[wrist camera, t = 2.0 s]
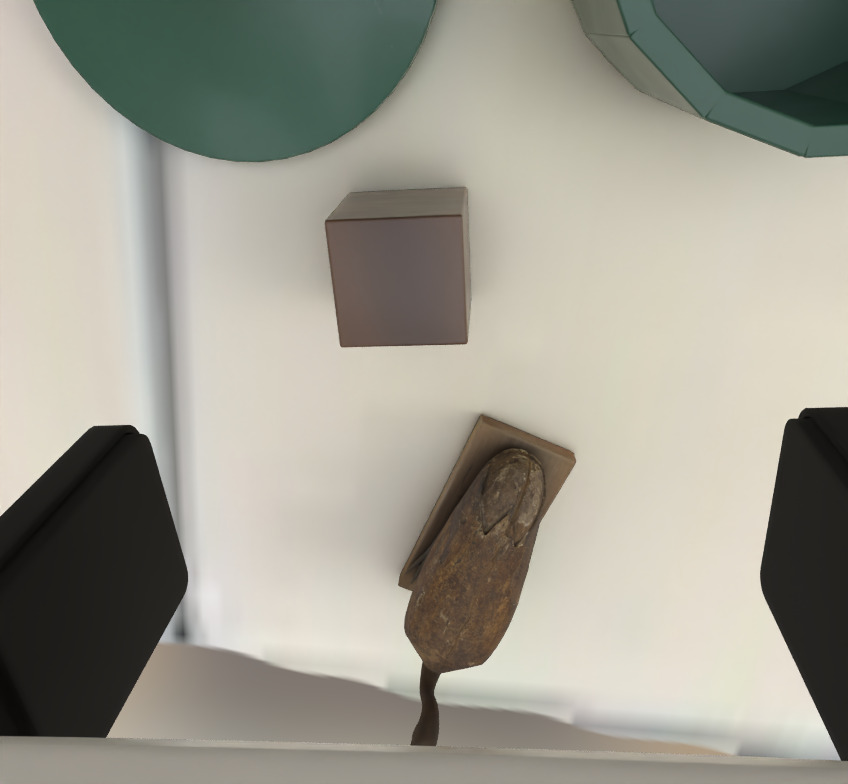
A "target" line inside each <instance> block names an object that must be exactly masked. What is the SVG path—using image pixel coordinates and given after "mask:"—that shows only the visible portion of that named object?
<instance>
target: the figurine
mask: <svg viewBox="0 0 848 784" xmlns="http://www.w3.org/2000/svg"><path fill="white" fill-rule="evenodd" d="M575 463H576V459H575V456H574V453H573V452H571V451H569V450H566V449H564V448H562V447H559V446H557V445H554V444H552V443H550V442H547V441H545V440H542V439H540V438H537V437H535V436H533V435H530V434H528V433H525V432H523V431H521V430H518V429H516V428H514V427H511V426H508V425H506V424H504V423H501V422H499V421H496V420H494V419H491V418H489V417H486V416H484V415H481V416H480V418H479V420H478V422H477V424H476V426H475V428H474V430H473V432H472V434H471V436H470V438H469V440H468V442H467V444H466V446H465V448H464V450H463V452H462V454H461V456H460V458H459V460H458V462H457V463H456V465H455V467H454V469H453V472H452V474H451V476H450V477H449V479H448V481H447V483H446V485H445V487H444V489H443V491H442V493H441V495H440V497H439V499H438V501H437V503H436V505H435V507H434V509H433V511H432V513H431V515H430V517H429V519H428V521H427V523H426V525H425V527H424V529H423V531H422V533H421V535H420V537H419V539H418V541H417V543H416V545H415V547H414V549H413V551H412V553H411V555H410V557H409V559H408V561H407V563H406V564H405V566H404V568H403V570H402V572H401V574H400V578H399V583H398V585H399V586H400V587H403V588H405V589H408V590H411V591H413V592H412V595H411V598H410V601H409V604H408V608H407V611H406V615H405V622H404V629H405V633H406V635H407V637H408V639H409V640H410V642H411V643H412V645H413V647H414V648H415V650H416V651H417V653H418V654H419V656H420V657H421V659H422V661H423V663H422V669H421V678H420V696H421V701H422V713H421V716H420V719H419V722H418V724H417V725H416V727H415V730H414V732H413V735H412V741H411V746H436V744H437V739H438V733H439V711H438V705H437V702H436V699H435V696H434V689H435V686H436V683H437V681H438V678H439V676H440V674H441V673H445V672H450V671H455V670H460V669H465V668H469V667H474V666H478V665H482V664H483V663H484V662H485V661H486V660H487V659H488V658H489V657H490V656H491V654H492V653H493V651H494V650H495V649H496V647H497V646H498V644H499V643H500V641H501V639H502V638H503V636H504V634H505V632H506V630H507V628H508V626H509V624H510V622H511V620H512V617H513V615H514V613H515V610H516V607H517V605H518V602H519V598H520V595H521V591H522V588H523V585H524V581H525V578H526V575H527V572H528V568H529V563H530V559H531V555H532V552H533V547H534V544H535V540H536V536H537V532H538V528H539V524H540V522H541V520H542V518H543V517H544V515H545V513H546V512H547V510H548V508H549V507H550V505H551V504H552V502H553V500H554V499H555V497H556V495H557V494H558V492H559V490H560V489H561V487H562V485H563V484H564V482H565V480H566V478H567V477H568V475H569V473H570V472H571V470H572V468H573V467H574V465H575Z"/></svg>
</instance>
